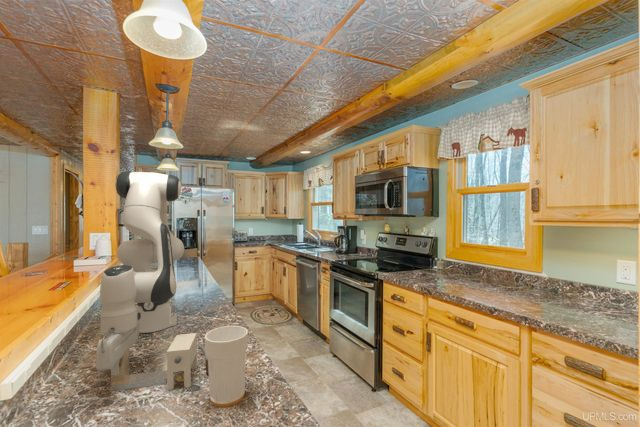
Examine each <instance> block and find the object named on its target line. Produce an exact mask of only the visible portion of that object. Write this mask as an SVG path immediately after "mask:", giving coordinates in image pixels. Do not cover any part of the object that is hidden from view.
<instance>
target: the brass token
mask: <svg viewBox="0 0 640 427" xmlns="http://www.w3.org/2000/svg"><path fill="white" fill-rule="evenodd" d="M174 381H176V382H178V383H179V382H180V383H182V382H183V383H184V372H182V373H178V374H177V375H176V376H174Z"/></svg>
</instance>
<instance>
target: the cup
mask: <svg viewBox="0 0 640 427" xmlns="http://www.w3.org/2000/svg"><path fill="white" fill-rule="evenodd" d="M248 343H249V330H248V329H247V328H246V327H245V326H241V325H225V326H219V327H216V328H213V329H210V330H209V331H207V332H206V334H205V335H204V344H205V353H206V355H207V356H208V371H209V376H208V387H209V388H208V390H209V391H208V392H209V401H210V403H211V404H212V405H213V406H215V407H218V408H219V407H220V408H227V407H231V406H233V405H236V404H238V403H240V402H241V401H242V400H243V399H244V397H245V396H246V395H245V394H246V392H245V391H246V353H247V352H246V351H247V350H248V347H249V346H248V345H249V344H248Z"/></svg>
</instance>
